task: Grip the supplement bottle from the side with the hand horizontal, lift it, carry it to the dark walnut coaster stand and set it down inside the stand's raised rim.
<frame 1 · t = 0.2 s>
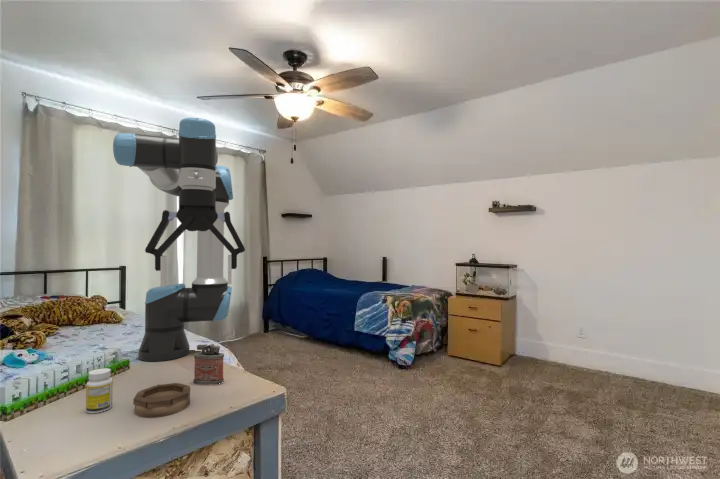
hand: (197, 284, 83), 27 cm above the table, tool pointing down, fingers open, 13 cm apart
lighter: (208, 383, 99), on the table
supplement bottle: (99, 410, 82), on the table
coaster stand: (163, 406, 83), on the table
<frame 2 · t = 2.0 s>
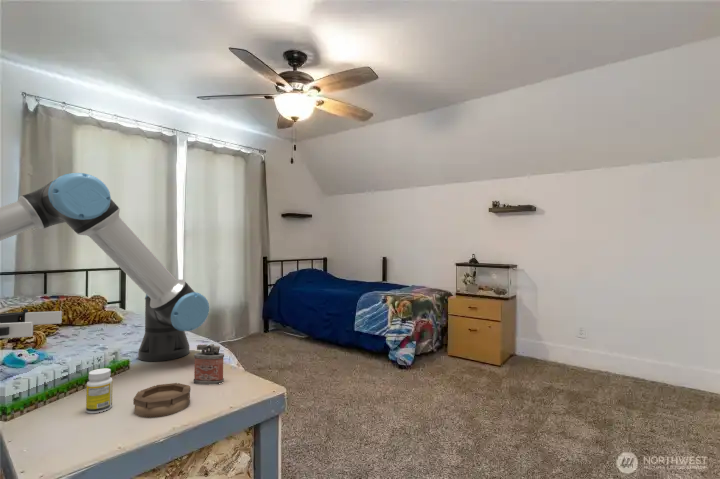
hand: (48, 322, 79), 20 cm above the table, tool horizontal, fingers open, 13 cm apart
nothing on the table moved.
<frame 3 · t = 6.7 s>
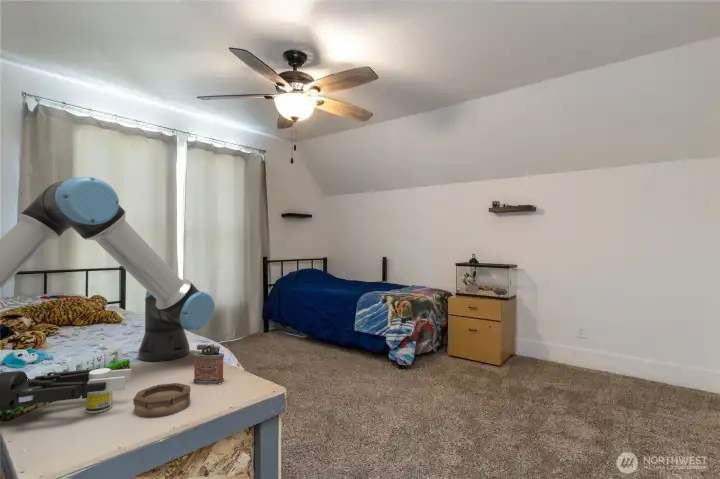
hand: (127, 378, 84), 6 cm above the table, tool horizontal, fingers closed on supplement bottle, 5 cm apart
supplement bottle: (99, 410, 82), on the table, touching gripper
everything else where it was.
when the fingers open (9 cm above the table, at t = 10.6 s): supplement bottle drops 1 cm, resting on coaster stand.
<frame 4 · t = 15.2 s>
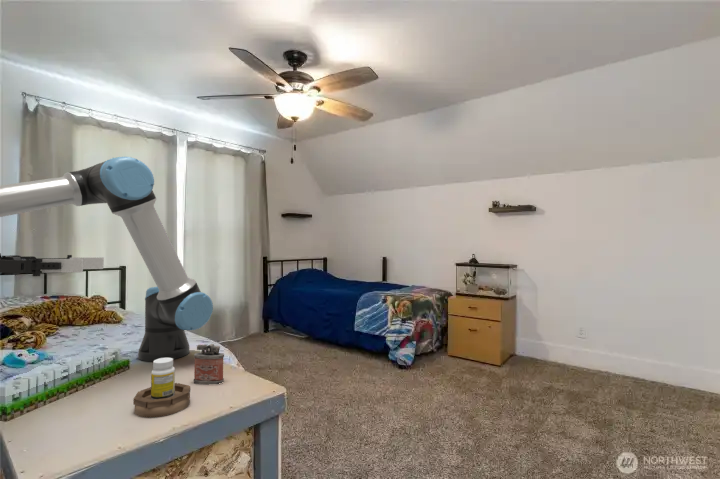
hand: (93, 264, 82), 32 cm above the table, tool horizontal, fingers open, 13 cm apart
supplement bottle: (162, 398, 83), point 2 cm above the table, touching coaster stand
everything else where it was.
at the end: supplement bottle 0.1 cm from the coaster stand (horizontally); supplement bottle tilted 0°; supplement bottle point 1.8 cm above the table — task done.
